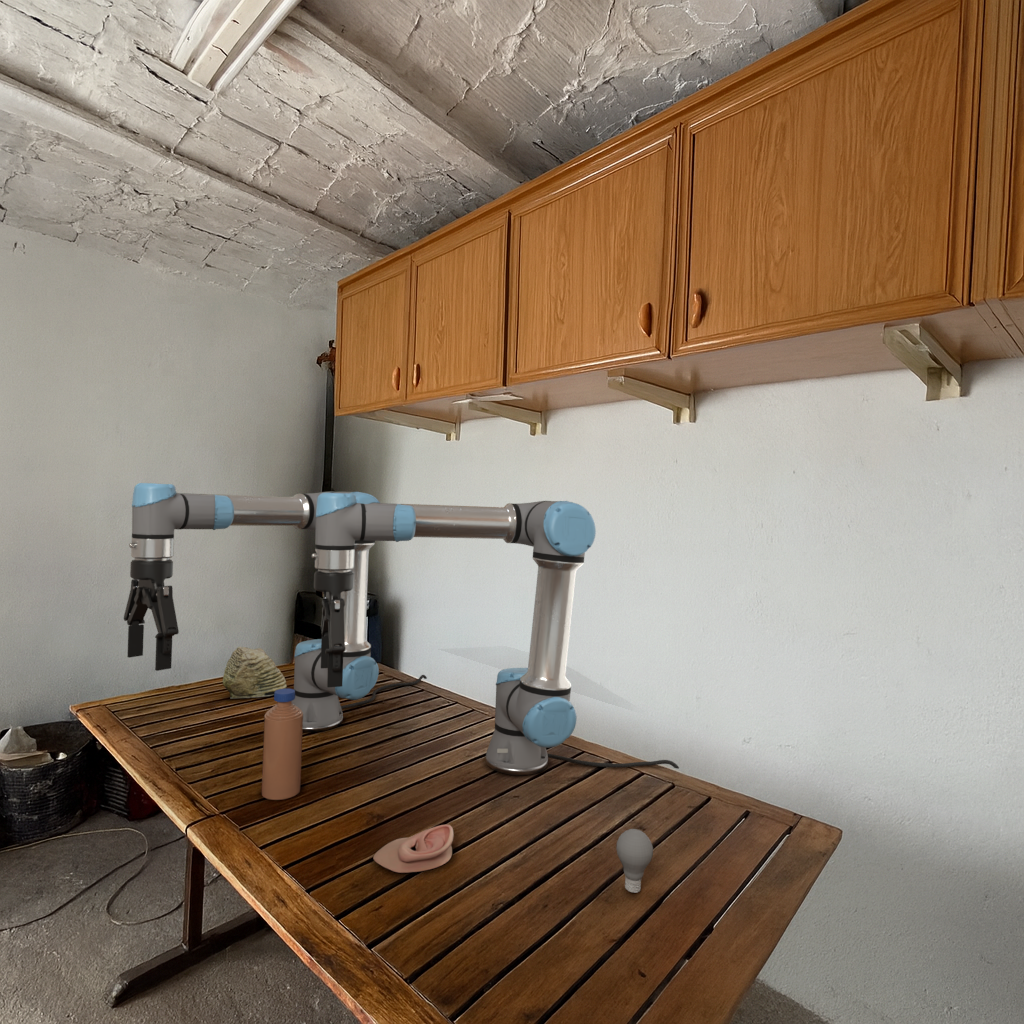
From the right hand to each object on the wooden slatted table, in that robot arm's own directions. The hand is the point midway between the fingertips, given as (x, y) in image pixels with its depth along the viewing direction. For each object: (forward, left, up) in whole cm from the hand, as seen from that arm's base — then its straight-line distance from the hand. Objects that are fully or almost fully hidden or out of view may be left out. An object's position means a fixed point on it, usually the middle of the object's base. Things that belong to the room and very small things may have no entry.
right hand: (330, 676), depth 126 cm
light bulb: (-46, +41, -28) cm, 67 cm away
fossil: (+14, -82, -28) cm, 88 cm away
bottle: (+8, -13, -28) cm, 32 cm away
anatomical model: (-13, +20, -28) cm, 37 cm away
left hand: (+34, -17, 0) cm, 38 cm away
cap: (+8, -13, -6) cm, 16 cm away
